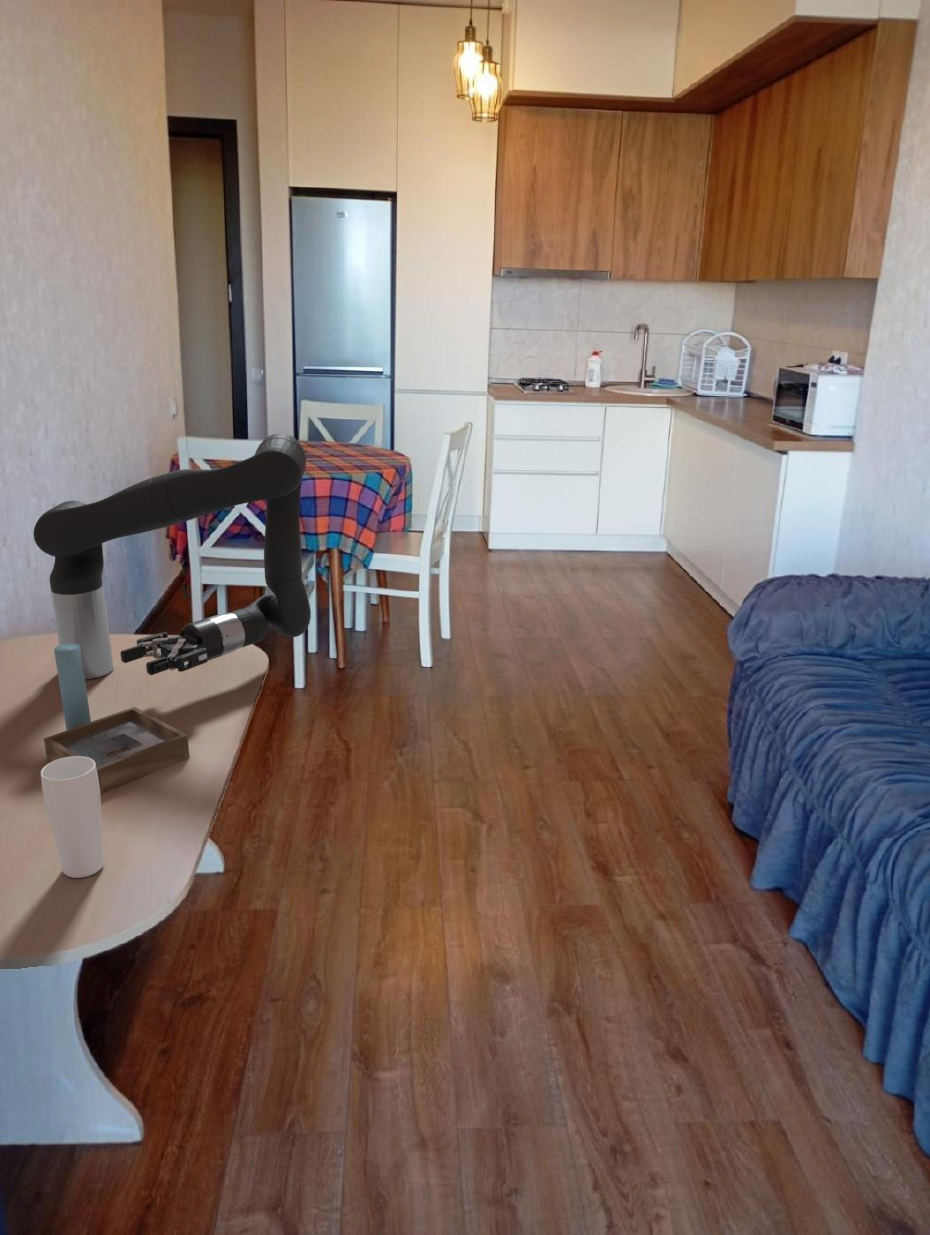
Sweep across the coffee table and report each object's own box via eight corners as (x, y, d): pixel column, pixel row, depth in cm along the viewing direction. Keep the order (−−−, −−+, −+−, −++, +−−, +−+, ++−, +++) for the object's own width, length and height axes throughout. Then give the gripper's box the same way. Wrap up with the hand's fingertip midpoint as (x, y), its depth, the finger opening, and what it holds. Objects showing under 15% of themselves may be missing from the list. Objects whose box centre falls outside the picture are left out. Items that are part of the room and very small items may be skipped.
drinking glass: (47, 869, 132) (30, 768, 127) (95, 848, 137) (80, 750, 132) (71, 889, 128) (55, 786, 123) (120, 867, 133) (106, 766, 127)
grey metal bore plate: (54, 760, 161) (52, 746, 160) (135, 730, 171) (133, 717, 170) (100, 790, 152) (97, 776, 151) (182, 757, 162) (181, 743, 161)
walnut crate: (47, 760, 161) (43, 738, 159) (137, 727, 172) (134, 706, 170) (97, 794, 150) (94, 771, 149) (189, 757, 162) (187, 734, 160)
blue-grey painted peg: (63, 736, 169) (49, 648, 163) (85, 728, 172) (72, 641, 166) (74, 743, 166) (61, 654, 161) (97, 735, 169) (84, 647, 164)
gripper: (189, 610, 188) (110, 633, 177) (234, 626, 179) (153, 653, 167) (194, 647, 190) (116, 673, 179) (238, 665, 181) (159, 694, 170)
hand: (134, 663), depth 173 cm, fingers open, 8 cm apart
